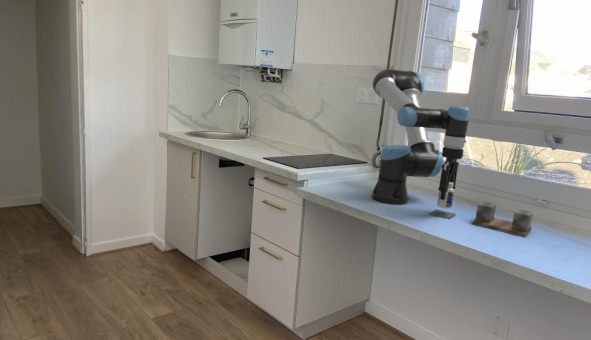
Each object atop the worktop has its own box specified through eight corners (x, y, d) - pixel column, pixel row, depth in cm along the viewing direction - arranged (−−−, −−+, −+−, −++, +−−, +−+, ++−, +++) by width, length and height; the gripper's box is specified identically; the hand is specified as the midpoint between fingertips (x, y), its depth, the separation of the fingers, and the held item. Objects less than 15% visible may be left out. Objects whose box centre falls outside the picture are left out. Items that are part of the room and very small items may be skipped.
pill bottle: (452, 209, 167) (456, 184, 166) (438, 207, 168) (441, 182, 167) (450, 205, 173) (454, 181, 171) (436, 203, 174) (440, 180, 172)
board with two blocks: (472, 224, 162) (475, 205, 161) (480, 217, 172) (483, 199, 170) (525, 237, 152) (529, 217, 150) (531, 229, 162) (534, 210, 160)
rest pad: (429, 214, 170) (429, 213, 170) (436, 210, 177) (436, 209, 177) (449, 219, 166) (449, 218, 166) (456, 215, 172) (456, 214, 172)
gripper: (456, 150, 156) (446, 212, 161) (470, 147, 171) (460, 204, 176) (435, 147, 161) (426, 208, 165) (450, 144, 175) (442, 199, 180)
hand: (444, 205), depth 171 cm, fingers closed on pill bottle, 5 cm apart
